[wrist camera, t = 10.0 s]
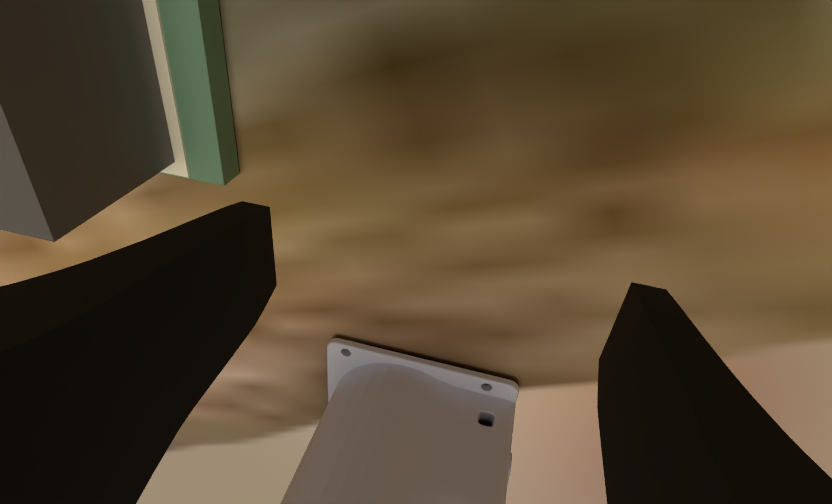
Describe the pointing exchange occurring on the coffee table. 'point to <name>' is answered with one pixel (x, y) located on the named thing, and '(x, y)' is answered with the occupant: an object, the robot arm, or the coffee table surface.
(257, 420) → the coffee table surface
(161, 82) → the green and cream box
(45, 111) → the block
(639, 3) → the coffee table surface
